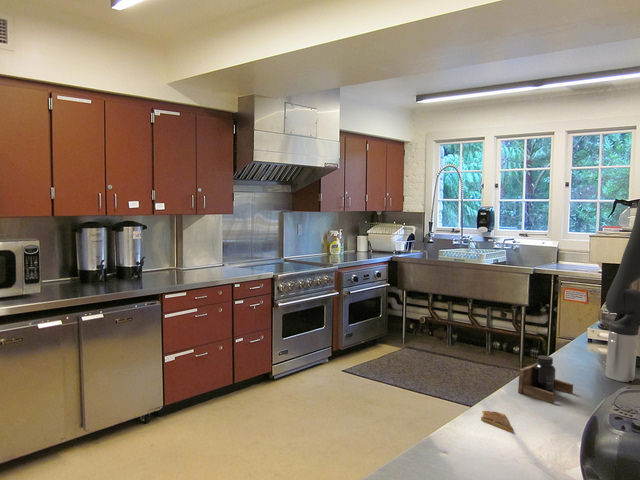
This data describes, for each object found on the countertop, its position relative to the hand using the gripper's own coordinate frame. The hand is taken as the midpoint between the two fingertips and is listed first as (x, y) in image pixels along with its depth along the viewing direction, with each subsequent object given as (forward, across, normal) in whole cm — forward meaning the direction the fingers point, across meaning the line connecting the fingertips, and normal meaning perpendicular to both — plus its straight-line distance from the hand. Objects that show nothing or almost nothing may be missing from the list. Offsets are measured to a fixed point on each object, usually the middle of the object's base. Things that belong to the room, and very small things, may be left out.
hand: (634, 324), depth 152 cm
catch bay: (+36, +5, +4) cm, 36 cm away
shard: (+34, +38, +6) cm, 51 cm away
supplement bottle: (+37, +5, +3) cm, 37 cm away
